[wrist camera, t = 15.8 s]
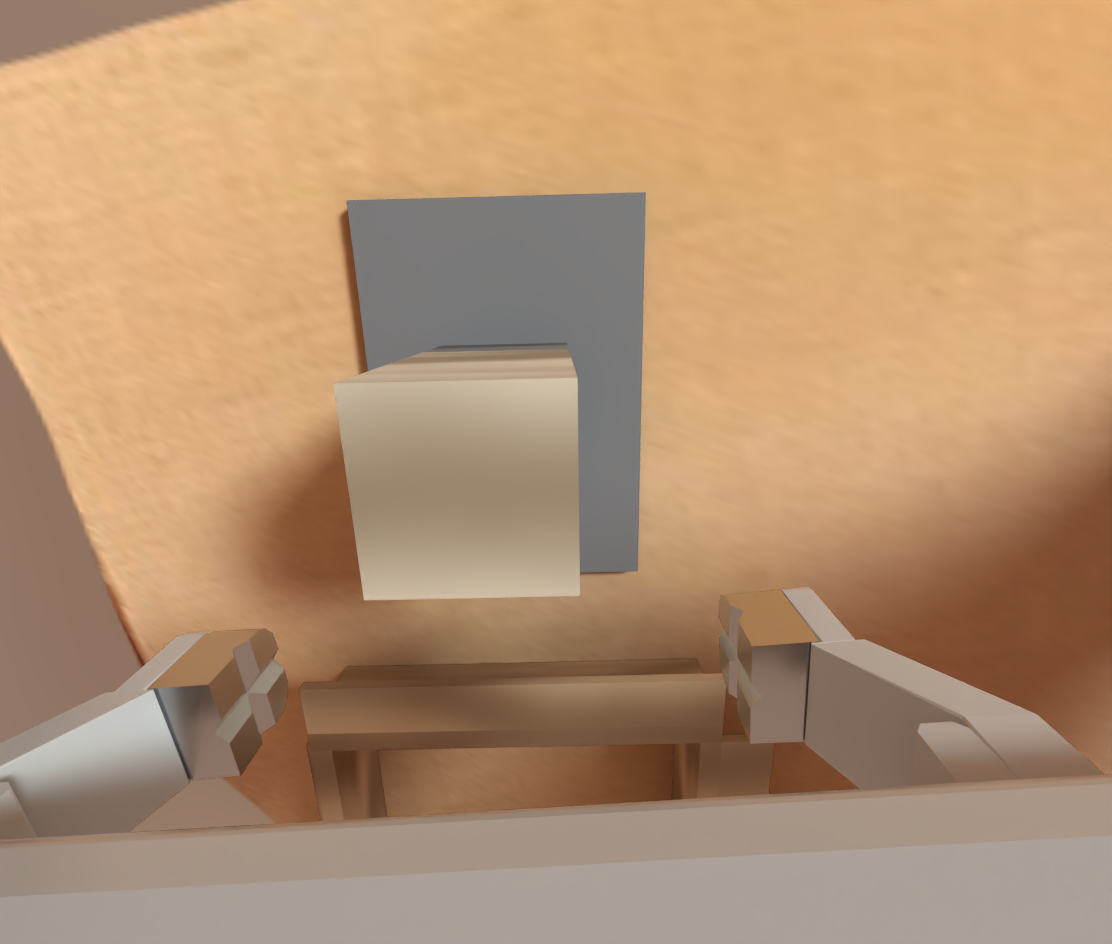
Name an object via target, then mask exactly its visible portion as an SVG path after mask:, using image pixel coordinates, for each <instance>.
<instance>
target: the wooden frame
mask: <svg viewBox="0 0 1112 944" xmlns="http://www.w3.org/2000/svg"><path fill="white" fill-rule="evenodd" d="M299 693H300V699H301V704H302V709H303V714H304V719H305V724H306V729H307V734H308V740H309V742H308V743H307V745H306V746H307V751H308V756H309V761H310V766H311V771H312V777H313V782H314V787H315V792H316V797H317V802H318V807H319V812H320V817H321V821H329V820H346V819H363V818H379V817H387V813H386V806H385V800H384V793H383V786H382V780H381V773H380V766H379V760H378V753H377V750H401V749H449V748H496V747H543V746H591V745H638V744H674V765H673V785H672V800H681V799H697V798H714V797H731V796H747V795H764V794H769V788H770V779H771V770H772V762H773V753H774V744H775V743H754V744H750V742H749V740H748V737H747V735H746V734H730V735H723V722H724V709H725V697H726V685H725V682H724V679H723V675H722V673H708V674H702V671H701V669H700V666H699V664H698V661H697V659H670V660H625V661H580V662H534V663H489V664H443V665H398V666H353V667H346V669H345V670H344V672H343V674H342V675H341V677H340V679H339V681H338V682H304V683H303V684H302V686H301V687H300V689H299Z"/></svg>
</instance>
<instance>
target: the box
mask: <svg viewBox="0 0 1112 944" xmlns="http://www.w3.org/2000/svg"><path fill="white" fill-rule="evenodd" d="M333 386H334V394H335V401H336V408H337V415H338V422H339V429H340V436H341V443H342V450H343V457H344V464H345V471H346V478H347V485H348V492H349V499H350V506H351V513H352V520H353V527H354V534H355V541H356V548H357V555H358V562H359V569H360V576H361V583H362V590H363V597H364V600H407V599H454V598H501V597H548V596H580V551H579V462H578V378H577V375H576V371H575V368H574V365H573V362H572V358H571V355H570V352H569V349H568V346H567V343H533V344H491V345H449V346H439V347H436V348H434V349H431V350H428V351H425V352H422V353H419V354H416V355H414V356H411V357H408V358H405V359H402V360H399V361H396V362H393V363H391V364H388V365H385V366H382V367H379V368H376V369H373V370H371V371H368V372H365V373H362V374H359V375H356V376H353V377H351V378H348V379H345V380H342V381H339V382H336V383H333Z"/></svg>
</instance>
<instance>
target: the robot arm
mask: <svg viewBox="0 0 1112 944" xmlns="http://www.w3.org/2000/svg"><path fill="white" fill-rule="evenodd" d="M719 619H720V621H721V623H722V625H723V627H724V629H725V631H724V632H723V633H722V634H721V636H720V637H719V658H720V665H721V672H722V675H723V679H724V682H725V685H726V687H727V690H728V692H729V694H731V695H732V696H734V697H735V698H737V714H738V716H739V719H740V721H741V723H742V726H743V728H744V730H745V733H746V735H747V737H748V740H749V742H750V744H754V743H782V742H805V745H806V746H808V747H809V748H810V749H811V750H812V751H814V752H815V753H816V754H817V755H819V756H820V757H821V758H822V759H824V760H825V761H826V762H827V763H828V764H830V765H831V766H832V767H833V768H835V769H836V770H837V771H838V772H840V773H841V774H842V775H843V776H844V777H846V778H847V779H848V780H849V781H851V782H852V783H853V784H854V785H856V786H857V787H858V788H859V789H848V790H831V791H814V792H798V793H781V794H764V795H747V796H731V797H714V798H697V799H681V800H664V801H647V802H630V803H614V804H597V805H580V806H563V807H547V808H530V809H513V810H496V811H480V812H464V813H447V814H430V815H413V816H396V817H379V818H363V819H346V820H329V821H312V822H295V823H278V824H262V825H245V826H228V827H212V828H195V829H178V830H160V831H143V832H130V831H131V830H132V829H133V828H135V827H136V826H137V825H138V824H140V823H141V822H142V821H143V820H145V819H146V818H147V817H148V816H150V815H151V814H152V813H153V812H155V811H156V810H157V809H158V808H159V807H161V806H162V805H163V804H164V803H166V802H167V801H168V800H169V799H171V798H172V797H173V796H174V795H176V794H177V793H178V792H179V791H181V790H182V789H183V788H184V787H186V786H187V785H188V784H189V783H190V782H189V781H191V780H202V779H213V778H223V777H234V776H241V775H242V773H243V772H244V770H245V769H246V767H247V766H248V764H249V763H250V761H251V760H252V758H253V757H254V755H255V754H256V752H257V751H258V749H259V748H260V746H261V745H262V740H261V735H260V734H261V733H263V732H264V731H266V730H267V729H269V728H270V727H272V726H273V725H274V724H276V722H277V721H278V719H279V718H280V716H281V714H282V713H283V711H284V708H285V704H286V700H287V697H288V680H287V677H286V673H285V670H284V668H282V667H281V666H280V665H279V664H278V663H277V662H275V661H274V660H273V659H274V657H275V654H276V652H277V650H278V646H277V643H276V641H275V638H274V635H273V633H272V632H270V631H269V630H267V629H246V630H227V631H213V632H211V631H206V632H195V633H187V634H182V635H178V636H177V637H176V638H175V639H174V640H172V641H171V642H170V643H169V644H168V645H167V646H166V647H164V648H163V649H162V650H161V651H160V652H159V653H158V654H157V655H155V656H154V657H153V658H152V659H151V660H150V661H149V662H147V663H146V664H145V665H144V666H143V667H142V668H141V669H139V670H138V671H137V672H136V673H135V674H134V675H133V676H131V677H130V678H129V679H128V680H127V681H126V682H125V683H123V684H122V685H121V686H120V687H119V688H118V689H117V690H115V691H114V692H108V693H103V694H101V695H99V696H97V697H95V698H93V699H91V700H89V701H87V702H85V703H82V704H80V705H78V706H76V707H74V708H73V709H70V710H68V711H66V712H64V713H62V714H60V715H57V716H55V717H53V718H51V719H49V720H47V721H45V722H43V723H41V724H39V725H37V726H35V727H32V728H30V729H28V730H26V731H24V732H22V733H20V734H18V735H16V736H14V737H12V738H10V739H8V740H6V741H3V742H2V743H0V944H1112V774H1104V773H1102V772H1101V771H1100V770H1099V769H1098V768H1097V767H1096V766H1095V765H1093V764H1092V763H1091V762H1090V761H1089V760H1088V759H1087V758H1086V757H1084V756H1083V755H1082V754H1081V753H1080V752H1079V751H1078V750H1077V749H1075V748H1074V747H1073V746H1072V745H1071V744H1070V743H1069V742H1068V741H1066V740H1065V739H1064V738H1063V737H1062V736H1061V735H1060V734H1059V733H1057V732H1056V731H1055V730H1054V729H1053V728H1052V727H1051V726H1050V725H1048V724H1047V723H1046V722H1045V721H1044V720H1043V719H1042V718H1041V717H1039V716H1038V715H1037V714H1035V713H1033V712H1031V711H1028V710H1026V709H1024V708H1021V707H1019V706H1017V705H1014V704H1012V703H1010V702H1008V701H1005V700H1003V699H1001V698H998V697H996V696H994V695H992V694H989V693H987V692H985V691H982V690H980V689H978V688H975V687H973V686H971V685H969V684H966V683H964V682H962V681H959V680H957V679H955V678H953V677H950V676H948V675H946V674H943V673H941V672H939V671H936V670H934V669H932V668H930V667H927V666H925V665H923V664H920V663H918V662H916V661H914V660H911V659H909V658H907V657H904V656H902V655H900V654H897V653H895V652H893V651H891V650H888V649H886V648H884V647H881V646H879V645H877V644H875V643H872V642H870V641H868V640H865V639H861V640H855V639H854V638H853V636H852V635H851V634H850V633H849V632H848V631H847V629H846V628H845V627H844V626H843V625H842V624H841V623H840V621H839V620H838V619H837V618H836V617H835V616H834V614H833V613H832V612H831V611H830V610H829V609H828V607H827V606H826V605H825V604H824V603H823V602H822V600H821V599H820V598H819V597H818V596H817V595H816V594H815V592H814V591H813V590H812V589H811V588H808V587H797V588H788V589H779V590H770V591H760V592H750V593H740V594H730V595H721V596H720V600H719Z"/></svg>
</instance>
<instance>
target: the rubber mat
mask: <svg viewBox="0 0 1112 944" xmlns="http://www.w3.org/2000/svg"><path fill="white" fill-rule="evenodd" d="M645 197H646V192H644V193H607V194H570V195H533V196H496V197H459V198H422V199H386V200H349V201H347V208H348V216H349V224H350V232H351V240H352V248H353V256H354V264H355V272H356V280H357V288H358V296H359V304H360V312H361V320H362V328H363V336H364V344H365V352H366V360H367V368H368V371H371V370H373V369H376V368H379V367H382V366H385V365H388V364H391V363H393V362H396V361H399V360H402V359H405V358H408V357H411V356H414V355H416V354H419V353H422V352H425V351H428V350H431V349H434V348H436V347H439V346H449V345H491V344H533V343H567V346H568V349H569V352H570V355H571V358H572V362H573V365H574V368H575V371H576V375H577V378H578V462H579V551H580V573H584V572H627V571H638V527H639V480H640V433H641V386H642V339H643V291H644V244H645Z"/></svg>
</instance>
